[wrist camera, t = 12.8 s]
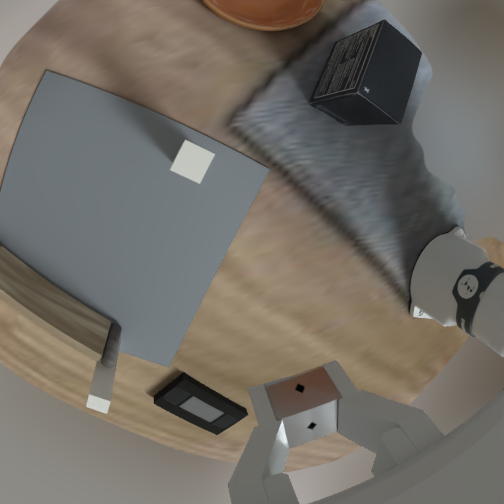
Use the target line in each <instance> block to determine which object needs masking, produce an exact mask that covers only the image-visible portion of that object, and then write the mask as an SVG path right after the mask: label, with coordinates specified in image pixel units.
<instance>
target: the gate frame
mask: <svg viewBox="0 0 504 504" xmlns="http://www.w3.org/2000/svg"><path fill="white" fill-rule="evenodd" d="M269 171H270V169H268V168H266V167H264V166H263V165H261V164H259V163H257V162H255V161H253V160H252V159H250V158H248V157H246V156H244V155H242V154H240V153H238V152H237V151H235V150H233V149H231V148H229V147H227V146H225V145H223V144H221V143H219V142H217V141H215V140H213V139H211V138H209V137H207V136H205V135H203V134H201V133H199V132H197V131H195V130H193V129H191V128H188V127H186V126H184V125H182V124H180V123H178V122H176V121H174V120H171V119H169V118H167V117H165V116H163V115H160V114H158V113H156V112H154V111H151V110H149V109H147V108H144V107H142V106H140V105H137V104H135V103H133V102H130V101H128V100H125V99H123V98H121V97H118V96H116V95H113V94H111V93H108V92H105V91H103V90H100V89H98V88H95V87H92V86H90V85H87V84H84V83H82V82H79V81H76V80H73V79H70V78H68V77H65V76H62V75H59V74H56V73H53V72H50V71H47V70H46V72H45V74H44V76H43V78H42V80H41V82H40V84H39V86H38V88H37V90H36V92H35V94H34V97H33V99H32V101H31V103H30V105H29V108H28V110H27V112H26V115H25V117H24V120H23V122H22V125H21V127H20V130H19V133H18V135H17V138H16V141H15V144H14V147H13V150H12V153H11V156H10V159H9V162H8V165H7V169H6V172H5V176H4V179H3V183H2V187H1V191H0V243H1V244H2V246H3V247H4V248H5V249H6V250H8V251H9V252H10V253H11V254H13V255H14V256H15V257H16V258H18V259H19V260H20V261H22V262H23V263H24V264H26V265H27V266H28V267H30V268H31V269H32V270H34V271H35V272H36V273H38V274H39V275H40V276H42V277H43V278H45V279H46V280H47V281H49V282H50V283H52V284H53V285H55V286H56V287H58V288H59V289H60V290H62V291H63V292H65V293H66V294H68V295H69V296H71V297H73V298H74V299H76V300H77V301H79V302H80V303H82V304H83V305H85V306H87V307H88V308H90V309H91V310H93V311H95V312H96V313H98V314H100V315H101V316H103V317H105V318H106V319H108V320H110V321H111V324H113V323H117V324H119V325H120V326H121V328H122V330H121V335H120V340H119V344H118V349H117V354H116V359H115V365H114V367H112V368H106V367H104V366H103V365H102V364H101V359H102V356H101V358H100V359H99V361H98V362H97V363H96V367H95V371H94V375H93V379H92V384H91V388H90V392H89V397H88V402H87V406H86V407H88V408H91V409H94V410H97V411H100V412H103V413H106V414H107V411H108V408H109V405H110V402H111V395H112V388H113V382H114V376H115V370H116V364H117V359H118V353H119V351H121V352H124V353H127V354H130V355H132V356H135V357H138V358H141V359H144V360H148V361H151V362H154V363H157V364H160V365H164V366H167V367H169V366H170V364H171V362H172V360H173V358H174V356H175V354H176V352H177V350H178V348H179V345H180V343H181V341H182V339H183V337H184V335H185V333H186V331H187V329H188V327H189V325H190V323H191V321H192V319H193V317H194V315H195V313H196V311H197V309H198V307H199V305H200V303H201V301H202V299H203V297H204V295H205V293H206V291H207V289H208V287H209V285H210V283H211V281H212V280H213V278H214V276H215V274H216V272H217V270H218V268H219V266H220V264H221V262H222V260H223V258H224V256H225V254H226V252H227V250H228V248H229V246H230V245H231V243H232V241H233V239H234V237H235V235H236V233H237V231H238V229H239V227H240V225H241V223H242V222H243V220H244V218H245V216H246V214H247V212H248V210H249V208H250V206H251V204H252V203H253V201H254V199H255V197H256V195H257V193H258V191H259V189H260V188H261V186H262V184H263V182H264V180H265V178H266V176H267V174H268V173H269ZM111 324H110V325H111ZM109 329H110V327H109ZM108 332H109V331H108ZM107 336H108V334H107ZM106 340H107V338H106ZM105 343H106V342H105ZM104 347H105V345H104ZM103 351H104V349H103ZM102 355H103V353H102Z"/></svg>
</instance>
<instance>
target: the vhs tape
mask: <svg viewBox="0 0 504 504" xmlns="http://www.w3.org/2000/svg"><path fill="white" fill-rule="evenodd" d="M154 404H156V405H157V406H159V407H161V408H163V409H165V410H167V411H169V412H170V413H172V414H174V415H176V416H178V417H180V418H182V419H184V420H186V421H188V422H190V423H192V424H194V425H196V426H199V427H201V428H203V429H205V430H207V431H209V432H212V433H214V434H216V435H218V434H220V433H221V432H223V431H224V430H226V429H228V428H229V427H231V426H232V425H234V424H235V423H237V422H238V421H240V420H241V419H243V418H244V417H246V416H247V415H248V413H247V410H246V408H244V407H242V406H240V405H238V404H237V403H235V402H233V401H231V400H229V399H228V398H226V397H224V396H222V395H221V394H219V393H217V392H215V391H214V390H212V389H210V388H209V387H207V386H205V385H204V384H202V383H200V382H199V381H197V380H195V379H194V378H192V377H191V376H189V375H187V374H186V373H182V374H181V375H180V376H179V377H177V378H176V379H175V380H174V381H172V382H171V383H170V384H168V385H167V386H166V387H165V388H163V389H162V390H161V391H160V392H158V393H157V394H156V395H155V396H154Z"/></svg>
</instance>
